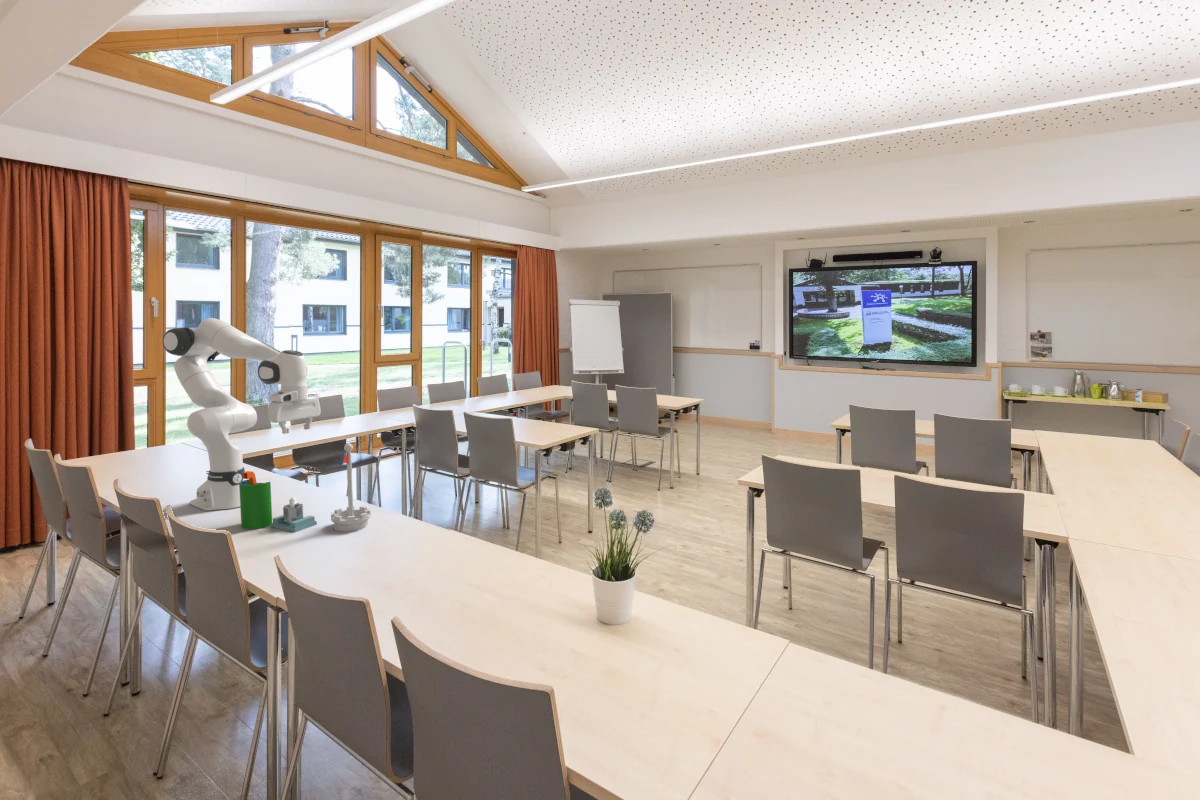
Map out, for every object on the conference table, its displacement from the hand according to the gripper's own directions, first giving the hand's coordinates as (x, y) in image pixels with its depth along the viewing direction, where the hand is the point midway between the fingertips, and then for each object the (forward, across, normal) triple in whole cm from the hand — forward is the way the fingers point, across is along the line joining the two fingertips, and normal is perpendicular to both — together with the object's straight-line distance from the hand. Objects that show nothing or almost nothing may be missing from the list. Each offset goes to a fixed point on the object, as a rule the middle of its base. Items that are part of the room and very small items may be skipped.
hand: (296, 431), depth 231 cm
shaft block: (+31, +12, +11) cm, 35 cm away
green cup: (+31, +17, -1) cm, 36 cm away
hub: (+29, +12, +11) cm, 33 cm away
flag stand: (+31, +3, +29) cm, 43 cm away
